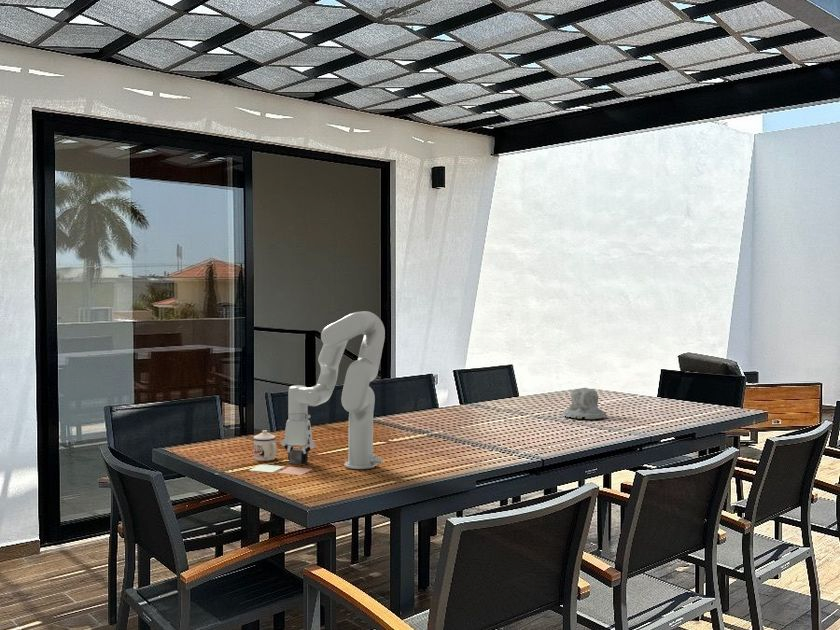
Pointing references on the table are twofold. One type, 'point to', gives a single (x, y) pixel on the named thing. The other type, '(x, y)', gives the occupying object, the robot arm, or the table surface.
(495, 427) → the table surface
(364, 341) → the robot arm
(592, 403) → the hat
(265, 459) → the teacup with lid
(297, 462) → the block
